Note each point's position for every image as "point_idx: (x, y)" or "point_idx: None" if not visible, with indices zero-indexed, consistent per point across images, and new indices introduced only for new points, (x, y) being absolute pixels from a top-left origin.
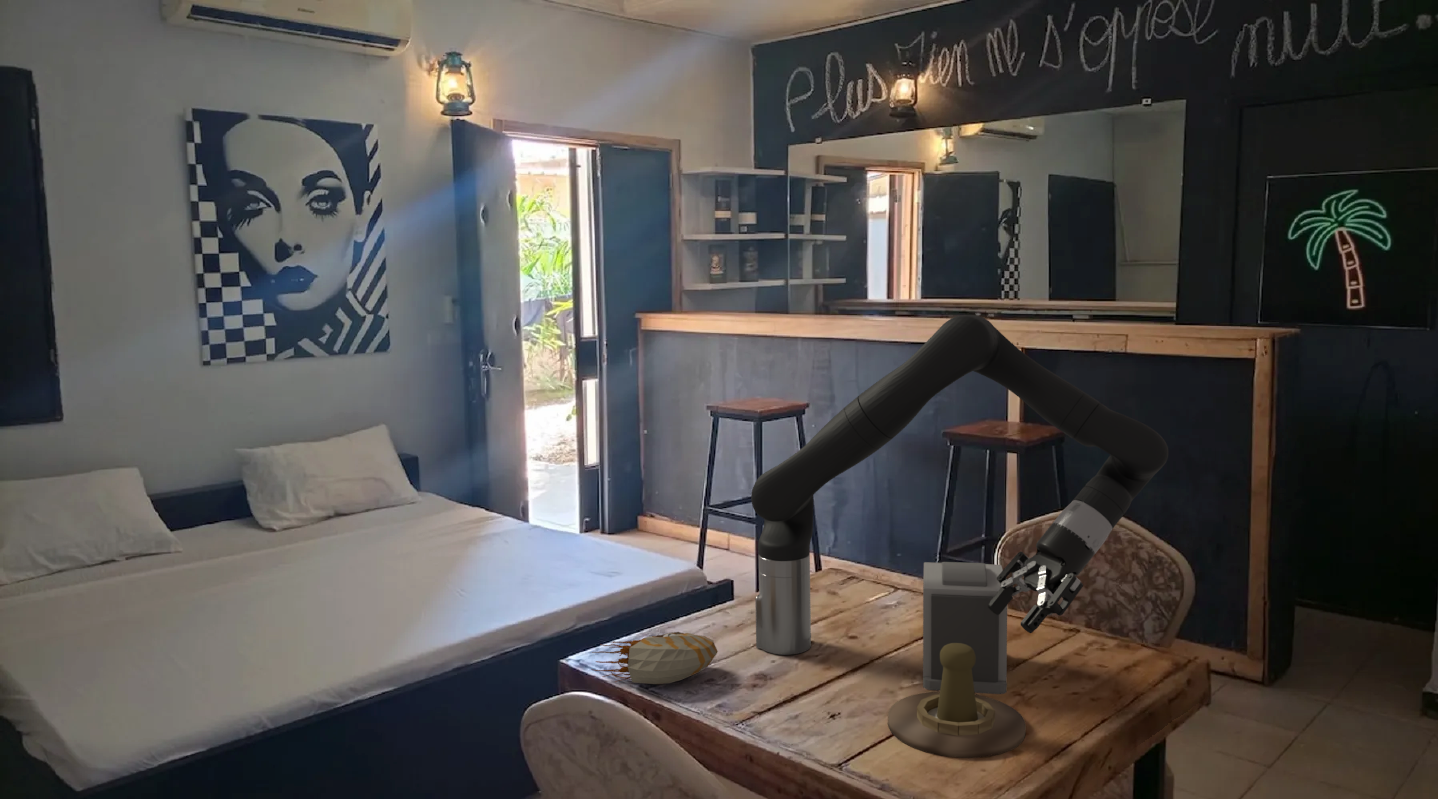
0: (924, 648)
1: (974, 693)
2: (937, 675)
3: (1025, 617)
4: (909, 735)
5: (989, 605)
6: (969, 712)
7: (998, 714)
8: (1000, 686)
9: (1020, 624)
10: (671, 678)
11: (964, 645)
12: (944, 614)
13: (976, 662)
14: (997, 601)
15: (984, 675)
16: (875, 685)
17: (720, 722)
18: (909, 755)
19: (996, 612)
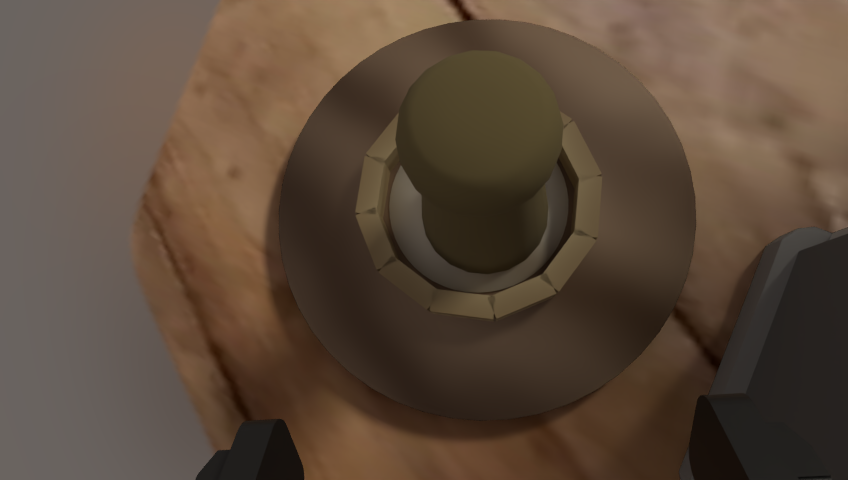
0: None
1: (445, 234)
2: (799, 269)
3: (250, 469)
4: (413, 43)
5: (729, 397)
6: (423, 216)
7: (466, 345)
8: (689, 478)
9: (282, 420)
10: None
11: (475, 146)
12: None
13: (779, 410)
14: (733, 476)
15: None
16: (839, 90)
17: None
18: (358, 36)
19: (694, 449)
